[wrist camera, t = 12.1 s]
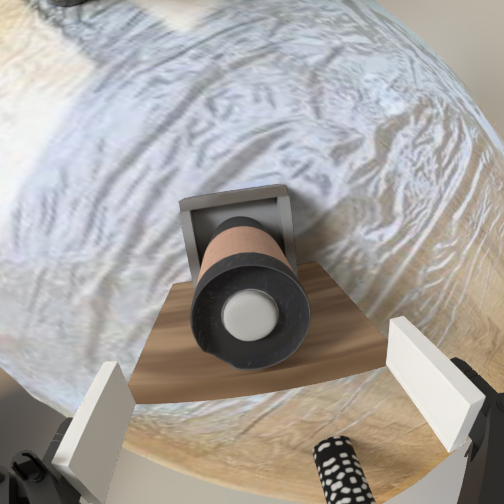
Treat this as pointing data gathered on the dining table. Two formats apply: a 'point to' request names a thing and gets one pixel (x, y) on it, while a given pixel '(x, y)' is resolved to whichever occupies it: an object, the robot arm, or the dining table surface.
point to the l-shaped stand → (216, 370)
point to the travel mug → (248, 298)
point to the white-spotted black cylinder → (341, 472)
